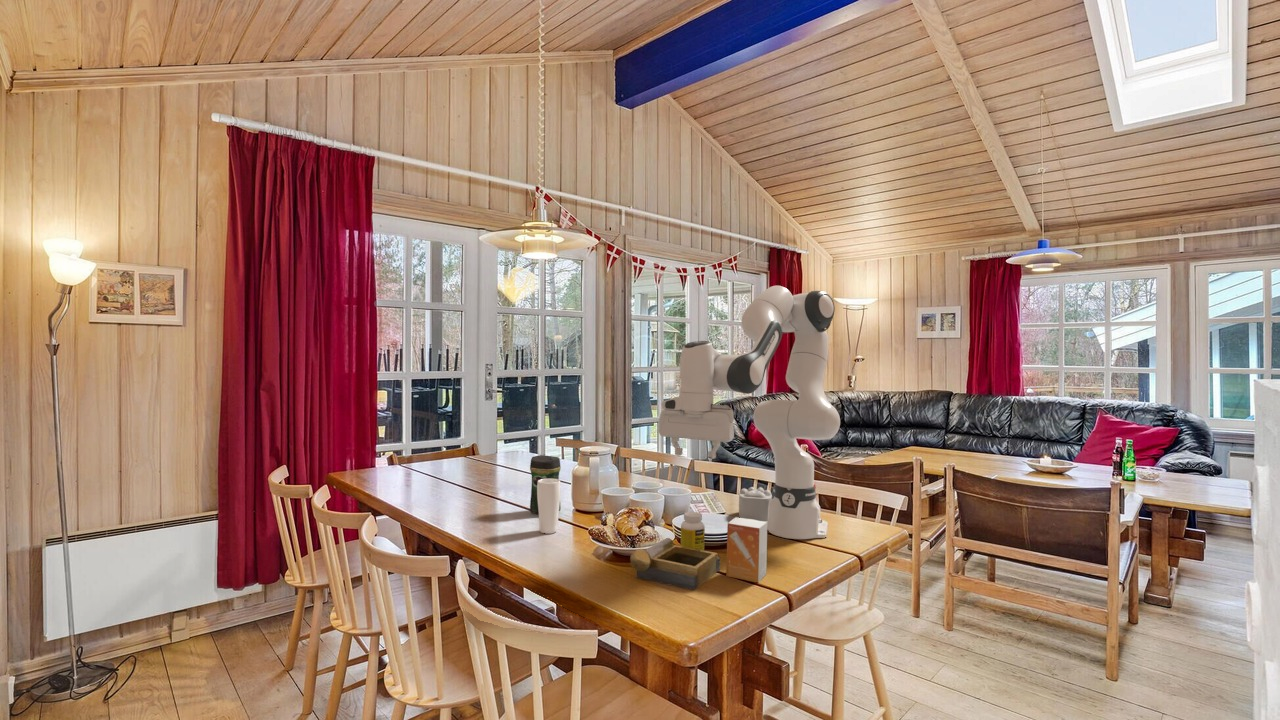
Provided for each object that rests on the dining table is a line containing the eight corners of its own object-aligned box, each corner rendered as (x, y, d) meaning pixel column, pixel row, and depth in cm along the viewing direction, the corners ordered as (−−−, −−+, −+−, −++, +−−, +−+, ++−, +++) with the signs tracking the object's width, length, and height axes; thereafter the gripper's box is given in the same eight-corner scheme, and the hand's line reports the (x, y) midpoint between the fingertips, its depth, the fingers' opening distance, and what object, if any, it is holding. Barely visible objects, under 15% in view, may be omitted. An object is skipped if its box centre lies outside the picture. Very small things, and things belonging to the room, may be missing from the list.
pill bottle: (697, 561, 158) (698, 518, 158) (676, 557, 161) (676, 514, 161) (708, 554, 163) (708, 513, 163) (687, 550, 166) (687, 509, 166)
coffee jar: (564, 511, 204) (564, 455, 204) (550, 517, 197) (551, 459, 197) (540, 507, 208) (540, 452, 208) (525, 513, 201) (526, 456, 201)
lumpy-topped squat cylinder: (737, 519, 196) (738, 492, 196) (740, 509, 209) (740, 483, 209) (771, 522, 194) (771, 494, 194) (772, 511, 207) (772, 485, 206)
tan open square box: (662, 557, 160) (662, 531, 160) (719, 569, 152) (720, 541, 152) (630, 578, 146) (630, 548, 146) (691, 592, 138) (692, 561, 138)
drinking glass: (562, 528, 185) (562, 478, 185) (557, 535, 178) (557, 483, 178) (540, 527, 186) (540, 477, 185) (534, 534, 179) (534, 482, 178)
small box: (725, 577, 148) (726, 522, 147) (735, 568, 153) (735, 516, 153) (758, 583, 144) (759, 527, 143) (767, 574, 149) (767, 521, 149)
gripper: (738, 404, 159) (737, 458, 159) (667, 400, 169) (666, 451, 169) (729, 406, 153) (728, 462, 153) (656, 401, 163) (655, 454, 163)
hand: (695, 456), depth 161 cm, fingers open, 8 cm apart
